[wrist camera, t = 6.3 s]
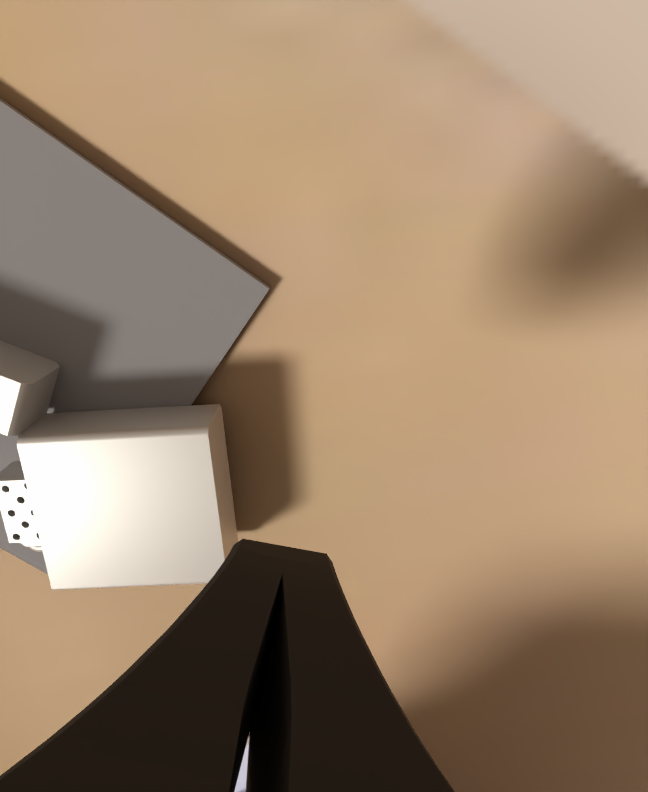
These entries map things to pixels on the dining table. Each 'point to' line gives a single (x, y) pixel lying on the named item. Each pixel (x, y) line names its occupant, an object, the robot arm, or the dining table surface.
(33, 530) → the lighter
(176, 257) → the mat
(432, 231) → the dining table surface
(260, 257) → the dining table surface
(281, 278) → the dining table surface
